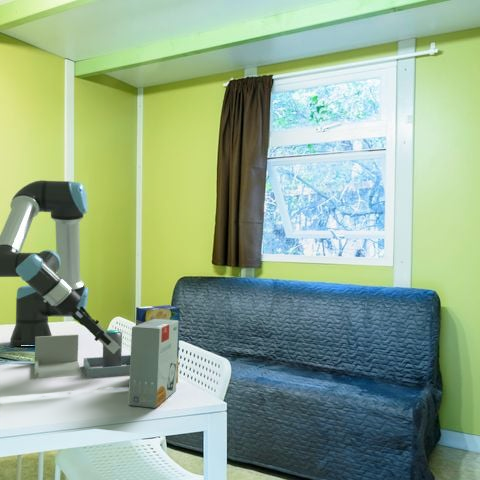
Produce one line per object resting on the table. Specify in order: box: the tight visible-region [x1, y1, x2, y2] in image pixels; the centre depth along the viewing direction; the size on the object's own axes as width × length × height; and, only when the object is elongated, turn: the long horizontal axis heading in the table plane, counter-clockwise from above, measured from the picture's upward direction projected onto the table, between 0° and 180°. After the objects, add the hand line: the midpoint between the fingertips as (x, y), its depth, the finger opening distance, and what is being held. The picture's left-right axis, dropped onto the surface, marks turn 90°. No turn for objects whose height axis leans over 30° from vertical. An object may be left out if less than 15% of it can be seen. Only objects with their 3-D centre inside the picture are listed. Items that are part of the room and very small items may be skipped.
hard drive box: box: [127, 319, 178, 409], centre depth 127 cm, size 16×8×20 cm, turn 168°
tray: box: [83, 354, 131, 379], centre depth 148 cm, size 14×16×4 cm
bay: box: [34, 334, 83, 380], centre depth 148 cm, size 18×13×10 cm
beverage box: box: [135, 304, 181, 383], centre depth 142 cm, size 7×11×22 cm, turn 127°
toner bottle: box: [101, 329, 123, 367], centre depth 148 cm, size 6×6×13 cm
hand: (113, 345), depth 148 cm, fingers open, 13 cm apart
